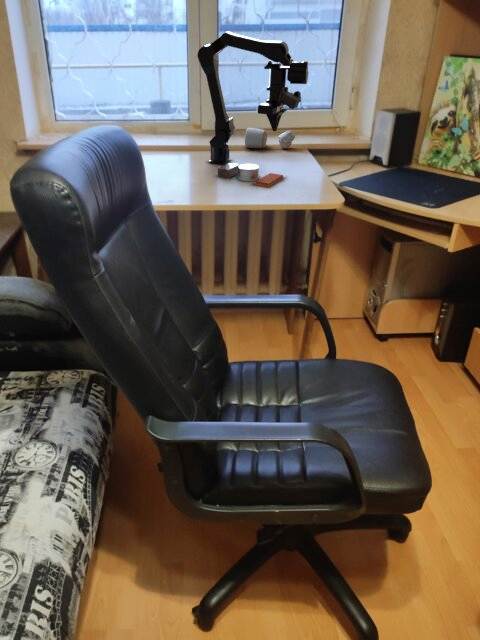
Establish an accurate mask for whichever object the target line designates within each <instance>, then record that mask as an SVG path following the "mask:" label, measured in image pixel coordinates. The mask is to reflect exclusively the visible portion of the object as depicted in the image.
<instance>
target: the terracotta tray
mask: <svg viewBox="0 0 480 640" xmlns="http://www.w3.org/2000/svg"><path fill="white" fill-rule="evenodd" d="M283 179H284V175H283V174H279V173H273V172H270V173H268V174H265V175H264V176H262V177H260V178H259V179H258V180H256V181H254V183H253V185H254V186H258V187H264V188H269V187H271V186H273V185H274V184H277V183H278V182H280V181H282V180H283Z"/></svg>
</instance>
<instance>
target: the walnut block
mask: <svg viewBox="0 0 480 640" xmlns="http://www.w3.org/2000/svg"><path fill="white" fill-rule="evenodd" d="M240 165H241V164H240V163H233V162H226V164H225V163H224V164H222V165H221V166H219V167H217V177H218V178H223V179H231V178H232V177H234V176H236V175H238V170H239V166H240Z"/></svg>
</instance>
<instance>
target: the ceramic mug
mask: <svg viewBox="0 0 480 640" xmlns="http://www.w3.org/2000/svg"><path fill="white" fill-rule="evenodd" d="M267 140H268V132H267V130H266V129H263V128H253V127H247V129H246V130H245V135H244V146H245V148H246V149H249V148H250V149H264V148H266V145H267Z"/></svg>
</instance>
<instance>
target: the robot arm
mask: <svg viewBox="0 0 480 640" xmlns="http://www.w3.org/2000/svg"><path fill="white" fill-rule="evenodd" d="M228 47H231V48H234V49H238V50H243V51H247V52H251V53H253V54H254V53H255V54H258V55H261V56H262V57H264V58H266V59H268V62H267V63H266V65H265V66H264V67H263V69H264V70H269V79H268V80H269V81H268V86H267V87H266V91H268V98H267V99H266V101H265V102H263V103H260V104H258V106H256V114H259V115H260V114H261V115H266V117H267V119H268V122H269V125H270V127H271V129H272V132H277V130H278V129H279V128H278V127H279V124H280V122H281V118H282V116H283V115H284V114H285V113H286V112H287V111H288V108H289V109H291V110H295V109H296V108H298V106H299V103H301V102H302V93H301V91H299V90H295V91H294V92H290V91H289V87H288V86H287V85H286V81H288V82H289V84H290V85H308V81H309V61H307V60H306V61H294V59H293V58H292V55H291V54H290V49H289V46H288V44H287V42H286V41H283V40H261V39H257V38H254V37H250V36H246V35H241V34H237V33H233V32H232V31H226V32H224V33H222V34H221V35H220V36H219V37H218V38H216V39H215V40H214V41H213V42H211V43H208V44H206V45H203V46H201V47H200V48H199V49H198V51H197V60H198V63H199V65H200V68H201V70H202V71H203V73H204V75H205V78H206V82H207V85H208V91H209V95H210V100H211V104H212V109H213V114H214V136H213V137H212V138H211V139H210V140H209V142H208V143H209V146H210V159H209V160H208V163H211V164H217V165H225V163H226V164H227V163H229V162H230V161H231V158H230V149H229V146H230V145H229V144H228V143H229V141H230V139H231V138H232V137H233V136H234V134H235V129H236V126H235V124H234V117H233V116H232V117H229V115H228V114H227V109H226V105H225V100H224V95H223V90H222V84H221V81H220V76H219V55H220V54H221V53H222V52H223V51H224V50H225V49H226V48H228ZM284 106H286V107H288V108H287V109H286V108H285V107H284Z"/></svg>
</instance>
